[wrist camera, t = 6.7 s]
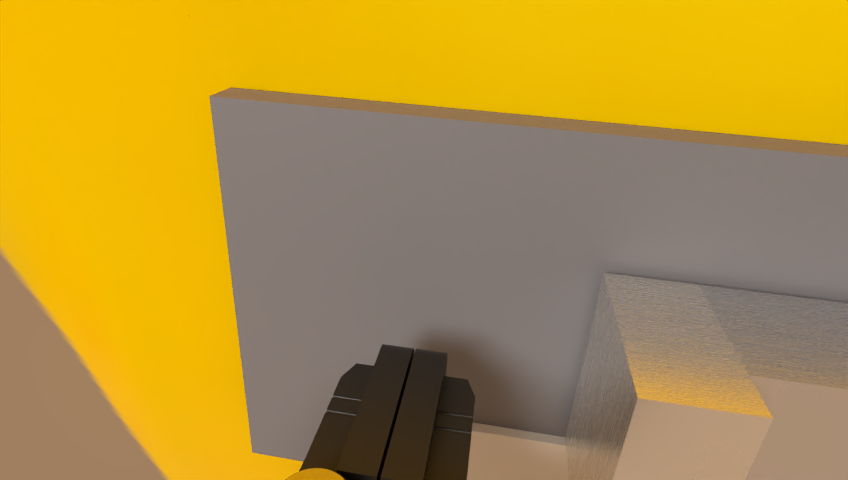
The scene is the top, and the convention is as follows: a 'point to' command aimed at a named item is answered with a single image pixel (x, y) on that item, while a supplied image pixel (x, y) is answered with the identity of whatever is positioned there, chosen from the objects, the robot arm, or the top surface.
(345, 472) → the robot arm
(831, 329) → the block
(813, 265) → the base
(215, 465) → the top surface
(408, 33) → the top surface
